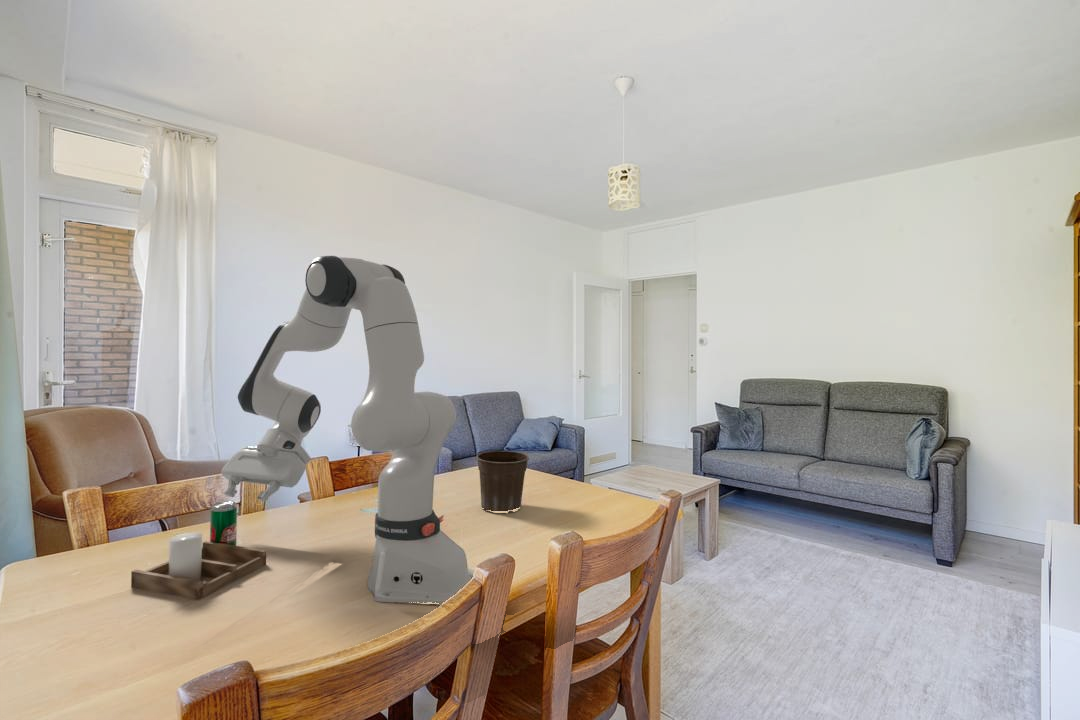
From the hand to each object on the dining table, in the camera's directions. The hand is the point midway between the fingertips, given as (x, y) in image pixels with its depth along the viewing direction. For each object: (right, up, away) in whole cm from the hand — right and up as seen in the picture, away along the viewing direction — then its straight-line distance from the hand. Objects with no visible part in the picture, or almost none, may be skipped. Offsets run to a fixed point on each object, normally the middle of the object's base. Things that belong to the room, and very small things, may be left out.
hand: (244, 497), depth 117 cm
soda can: (-2, -12, -5) cm, 13 cm away
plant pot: (+58, -13, +36) cm, 69 cm away
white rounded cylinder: (+1, -11, -21) cm, 23 cm away
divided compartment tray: (+2, -12, -17) cm, 21 cm away
